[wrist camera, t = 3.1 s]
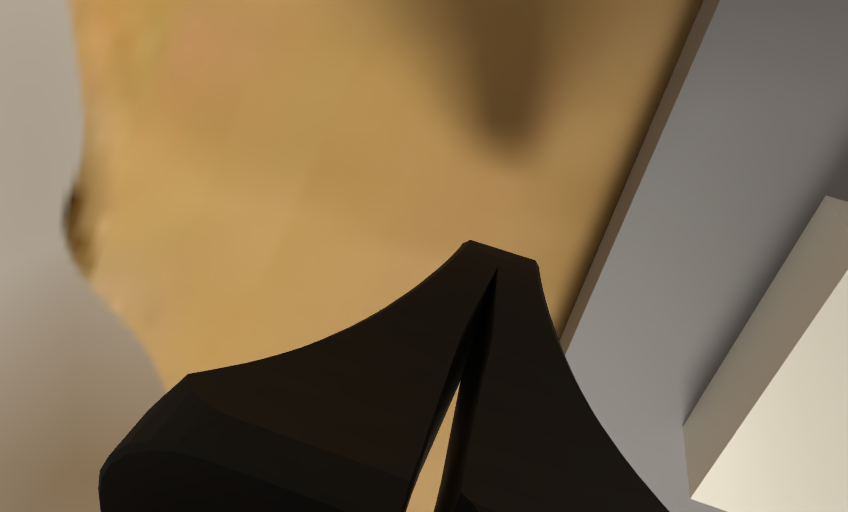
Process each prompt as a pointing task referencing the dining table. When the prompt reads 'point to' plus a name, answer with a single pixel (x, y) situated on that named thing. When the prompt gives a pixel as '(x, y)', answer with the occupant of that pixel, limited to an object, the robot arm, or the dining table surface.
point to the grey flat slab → (709, 220)
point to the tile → (782, 389)
